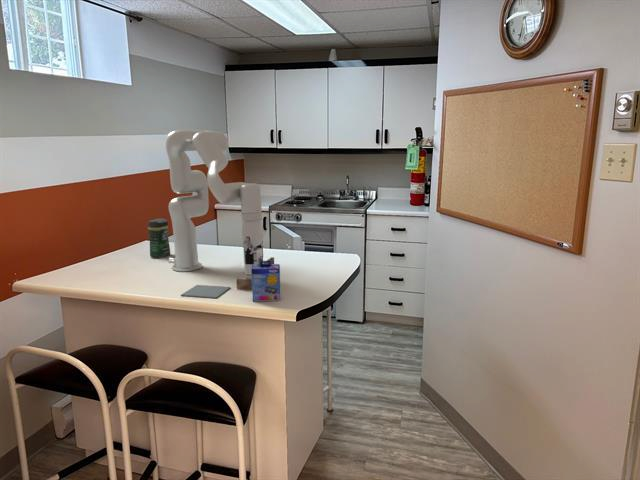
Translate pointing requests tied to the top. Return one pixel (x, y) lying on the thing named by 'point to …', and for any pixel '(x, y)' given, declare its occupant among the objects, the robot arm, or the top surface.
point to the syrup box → (257, 258)
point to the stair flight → (247, 283)
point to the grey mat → (206, 291)
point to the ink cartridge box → (266, 282)
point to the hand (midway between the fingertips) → (254, 260)
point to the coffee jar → (158, 238)
